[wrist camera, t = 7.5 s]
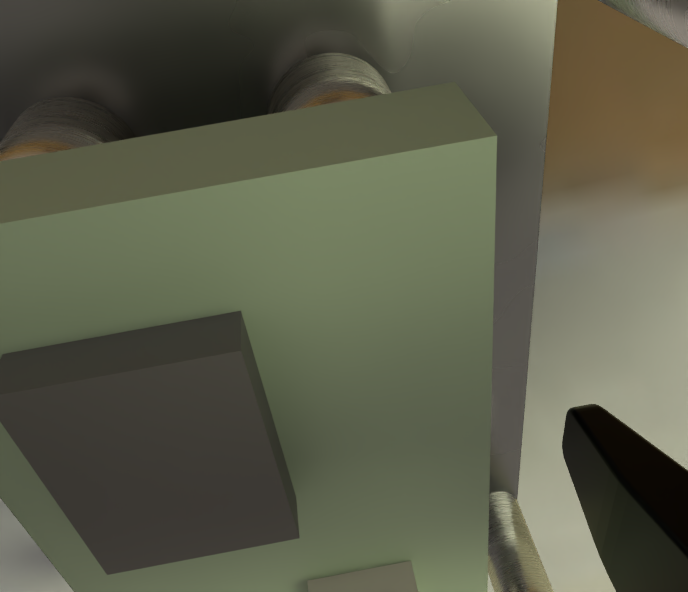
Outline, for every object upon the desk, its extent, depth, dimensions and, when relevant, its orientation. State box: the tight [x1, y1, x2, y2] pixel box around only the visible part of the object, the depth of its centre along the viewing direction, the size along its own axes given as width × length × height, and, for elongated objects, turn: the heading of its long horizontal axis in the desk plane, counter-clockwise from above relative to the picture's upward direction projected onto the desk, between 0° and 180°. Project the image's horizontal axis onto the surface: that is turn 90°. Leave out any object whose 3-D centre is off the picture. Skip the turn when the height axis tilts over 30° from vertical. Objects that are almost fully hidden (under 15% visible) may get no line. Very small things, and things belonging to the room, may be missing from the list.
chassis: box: [0, 0, 688, 592], centre depth 10 cm, size 10×14×6 cm
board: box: [0, 82, 497, 592], centre depth 9 cm, size 6×10×2 cm, turn 7°
